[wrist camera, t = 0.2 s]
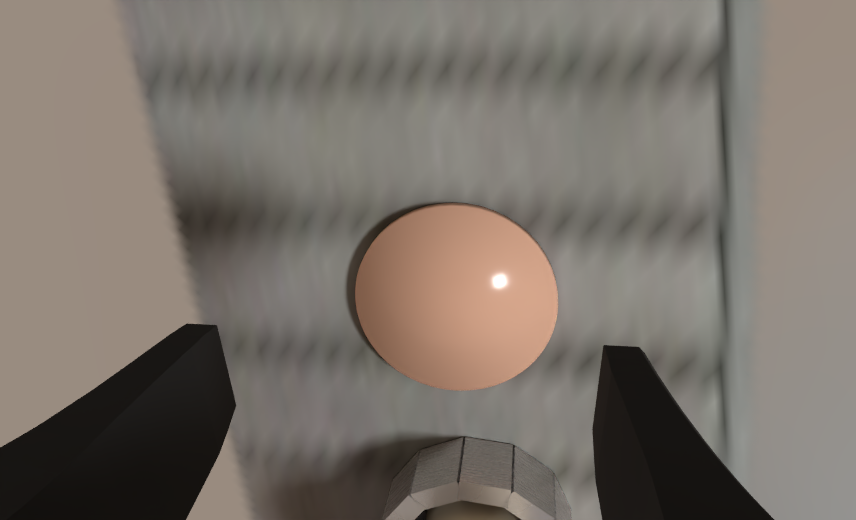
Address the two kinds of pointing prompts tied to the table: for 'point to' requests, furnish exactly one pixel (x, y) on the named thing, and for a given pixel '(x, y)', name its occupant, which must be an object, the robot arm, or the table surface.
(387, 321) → the coaster
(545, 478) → the collar
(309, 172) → the table surface
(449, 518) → the peg
